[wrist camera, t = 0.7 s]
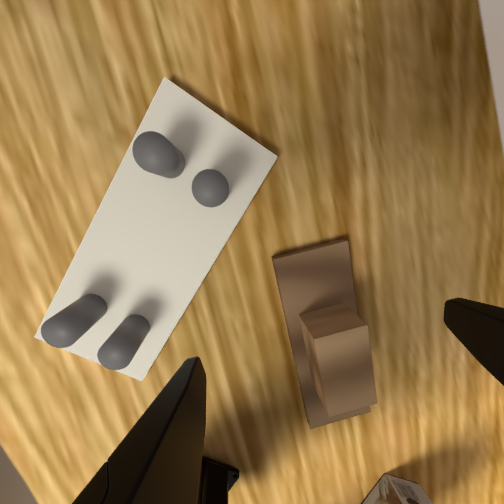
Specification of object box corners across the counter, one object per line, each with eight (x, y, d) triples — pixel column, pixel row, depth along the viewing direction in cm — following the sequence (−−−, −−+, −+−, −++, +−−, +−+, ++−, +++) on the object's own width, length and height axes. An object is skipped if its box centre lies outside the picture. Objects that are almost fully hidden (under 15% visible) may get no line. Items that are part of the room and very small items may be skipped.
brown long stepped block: (362, 400, 27) (395, 449, 22) (306, 416, 27) (325, 470, 22) (340, 237, 22) (375, 250, 17) (270, 255, 22) (284, 273, 17)
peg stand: (145, 373, 23) (123, 420, 18) (42, 330, 21) (-13, 370, 16) (275, 158, 20) (290, 146, 15) (167, 83, 18) (144, 39, 13)
